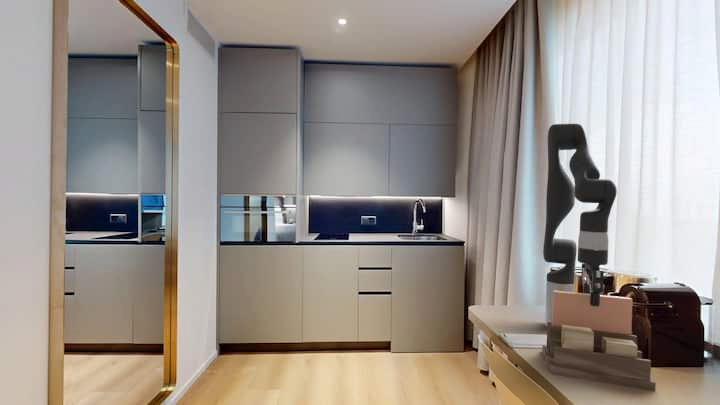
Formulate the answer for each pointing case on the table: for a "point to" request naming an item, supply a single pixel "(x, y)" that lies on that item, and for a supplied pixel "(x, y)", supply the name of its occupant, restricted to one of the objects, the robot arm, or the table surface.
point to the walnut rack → (597, 361)
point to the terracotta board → (592, 312)
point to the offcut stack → (585, 340)
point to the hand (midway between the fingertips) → (590, 302)
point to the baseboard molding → (524, 340)
